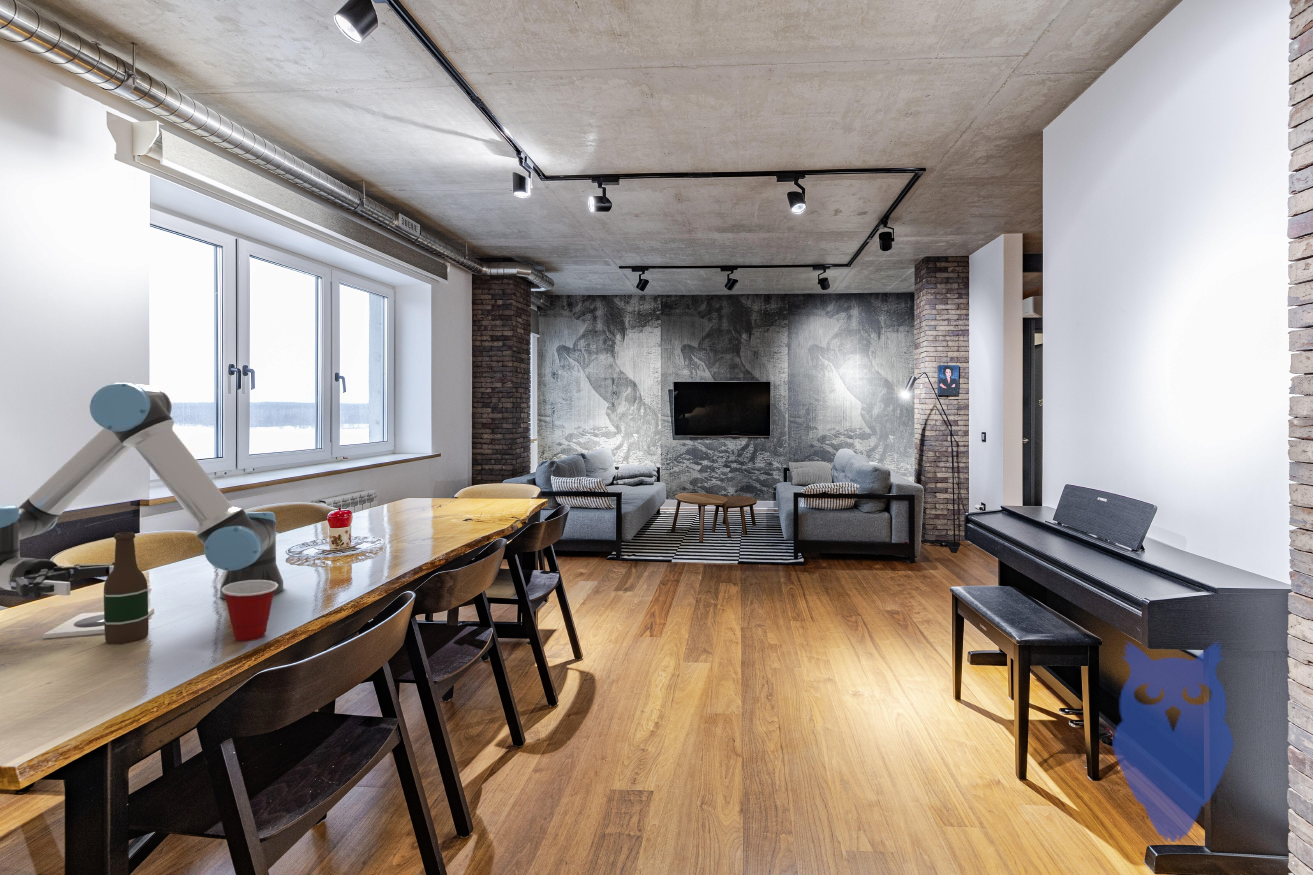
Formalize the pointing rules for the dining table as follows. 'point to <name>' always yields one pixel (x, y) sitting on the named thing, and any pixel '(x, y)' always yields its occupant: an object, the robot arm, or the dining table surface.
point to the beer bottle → (125, 595)
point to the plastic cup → (249, 607)
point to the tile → (82, 625)
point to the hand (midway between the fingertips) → (102, 580)
